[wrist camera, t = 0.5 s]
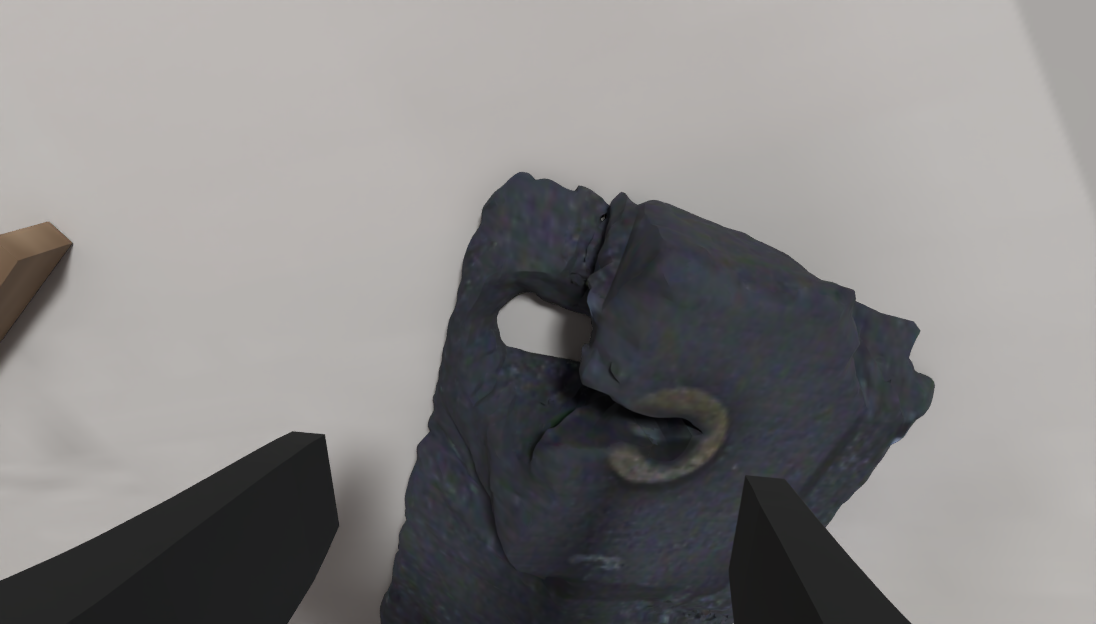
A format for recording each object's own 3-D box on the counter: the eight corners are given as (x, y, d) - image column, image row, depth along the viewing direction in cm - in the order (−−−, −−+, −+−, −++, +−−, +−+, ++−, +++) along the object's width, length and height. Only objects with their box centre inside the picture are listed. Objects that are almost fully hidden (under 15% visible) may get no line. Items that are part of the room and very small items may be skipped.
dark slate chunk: (342, 591, 27) (285, 695, 22) (520, 121, 18) (482, 142, 13) (652, 720, 27) (655, 845, 23) (977, 329, 18) (1085, 414, 14)
